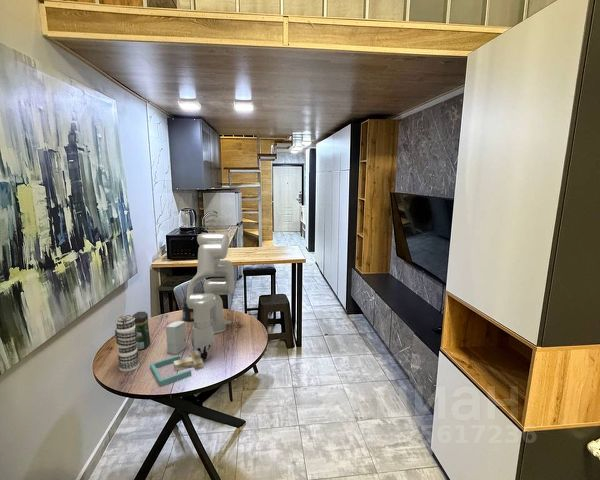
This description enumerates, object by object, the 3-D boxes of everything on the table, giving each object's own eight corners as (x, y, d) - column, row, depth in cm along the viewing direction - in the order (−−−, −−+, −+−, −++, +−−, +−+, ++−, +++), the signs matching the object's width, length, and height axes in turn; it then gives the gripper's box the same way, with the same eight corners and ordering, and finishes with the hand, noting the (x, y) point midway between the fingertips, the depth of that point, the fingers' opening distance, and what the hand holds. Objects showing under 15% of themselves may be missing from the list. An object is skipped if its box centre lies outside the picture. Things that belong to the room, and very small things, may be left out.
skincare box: (176, 354, 164) (174, 327, 162) (166, 353, 166) (164, 326, 164) (186, 347, 172) (185, 321, 170) (177, 345, 174) (175, 319, 171)
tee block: (197, 356, 163) (197, 351, 162) (203, 367, 152) (203, 362, 152) (172, 363, 157) (172, 357, 156) (177, 375, 146) (176, 369, 146)
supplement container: (202, 318, 209) (201, 301, 207) (187, 323, 202) (185, 305, 200) (195, 314, 217) (194, 297, 215) (180, 318, 209) (179, 301, 207)
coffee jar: (136, 342, 177) (134, 310, 174) (151, 341, 178) (149, 309, 175) (130, 351, 168) (127, 317, 165) (146, 350, 169) (143, 316, 166)
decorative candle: (119, 363, 156) (115, 314, 152) (141, 359, 160) (136, 312, 155) (116, 373, 148) (111, 322, 144) (139, 369, 151) (134, 319, 147)
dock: (179, 359, 160) (179, 354, 159) (191, 375, 146) (191, 370, 146) (150, 368, 152) (149, 363, 151) (160, 386, 138) (159, 381, 138)
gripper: (213, 317, 163) (215, 351, 166) (184, 325, 154) (186, 360, 157) (220, 322, 157) (221, 357, 160) (189, 330, 148) (191, 367, 151)
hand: (204, 358), depth 158 cm, fingers closed
